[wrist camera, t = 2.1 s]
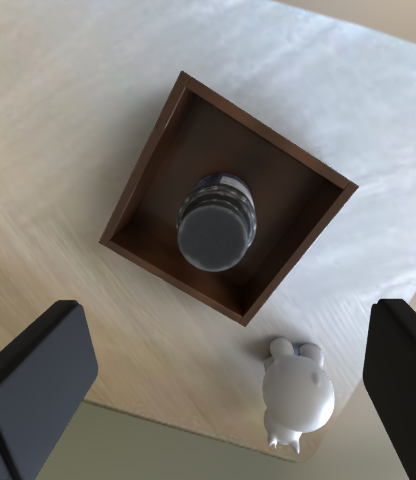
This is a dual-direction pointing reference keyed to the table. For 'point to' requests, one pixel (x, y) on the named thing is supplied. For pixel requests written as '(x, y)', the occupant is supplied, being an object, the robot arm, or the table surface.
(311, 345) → the toy rhinoceros
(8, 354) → the robot arm
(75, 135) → the table surface
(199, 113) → the box
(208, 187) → the pill bottle
